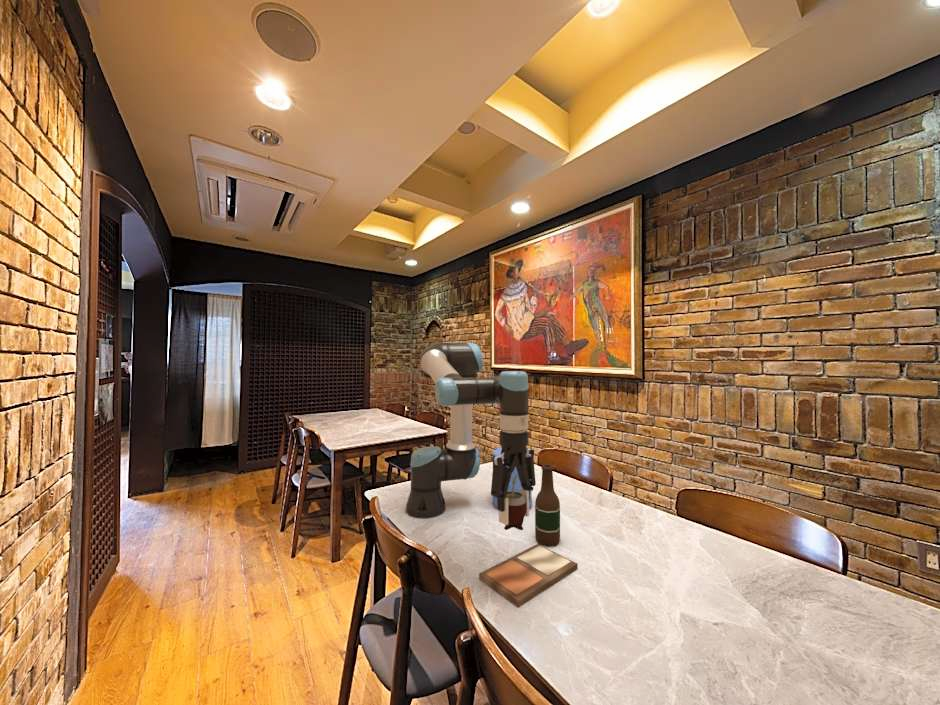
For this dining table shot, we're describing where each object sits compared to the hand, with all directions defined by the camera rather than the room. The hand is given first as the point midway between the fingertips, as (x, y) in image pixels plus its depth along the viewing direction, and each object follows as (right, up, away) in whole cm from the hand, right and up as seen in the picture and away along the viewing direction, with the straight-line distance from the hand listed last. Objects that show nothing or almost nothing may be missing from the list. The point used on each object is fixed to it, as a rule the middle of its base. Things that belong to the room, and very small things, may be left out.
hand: (514, 518), depth 94 cm
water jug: (+5, -18, +50) cm, 53 cm away
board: (+5, -17, +4) cm, 18 cm away
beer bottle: (+13, -17, +21) cm, 30 cm away
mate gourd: (0, -2, 0) cm, 2 cm away
